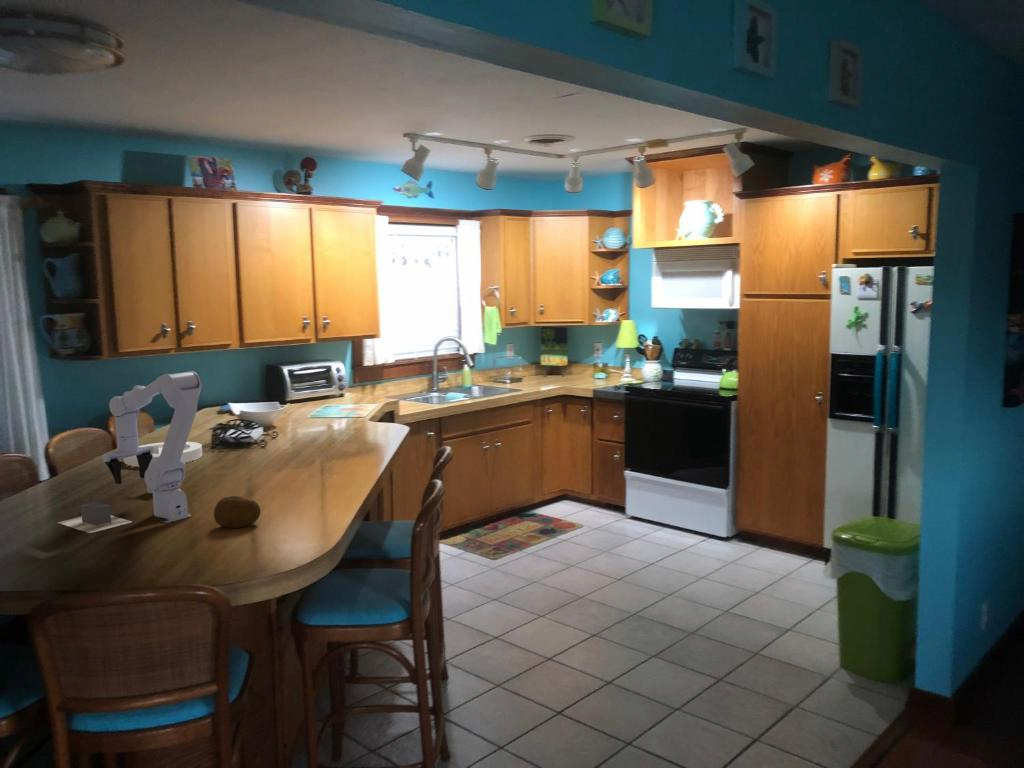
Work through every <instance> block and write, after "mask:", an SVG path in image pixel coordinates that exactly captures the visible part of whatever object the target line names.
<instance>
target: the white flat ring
mask: <svg viewBox="0 0 1024 768" xmlns="http://www.w3.org/2000/svg"><path fill="white" fill-rule="evenodd" d="M164 442H165V441H163V442H156V443H155V442H153V443H148V444H142V445H139V447H146V446H153V449H154V453H150V454H152V455H160V454H161V451H162V448H163V445H164ZM202 455H203V445H202V444H201V443H199V442H195V441H186V444H185V447H184V450H183V453H182V456H181V459H182V460H183V461H184V462H189V461H192V460H196V459H198V458H200V457H201V456H202ZM125 456H126V455H125ZM124 463H125V464H128V465H132V466H139V464H138V460H137V457H136V456H131V457H126V458H123V464H124Z"/></svg>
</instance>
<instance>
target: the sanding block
mask: <svg viewBox="0 0 1024 768" xmlns="http://www.w3.org/2000/svg"><path fill="white" fill-rule="evenodd" d="M80 511H81V513H80V514H81V516H82V523H85V524H88V525H91V526H94V527H96V526H100V525H104V524H108V523H111V516H112V514H111V505H110V504H107V503H104V502H99V501H93V502H89V503H86V504H82V505H80Z"/></svg>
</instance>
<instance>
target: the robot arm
mask: <svg viewBox="0 0 1024 768" xmlns="http://www.w3.org/2000/svg"><path fill="white" fill-rule="evenodd" d="M202 389H203V384H202V381H201V379H200V376H199V374H198V373H196V371H193V370H189V371H185V372H184V371H183V372H178V373H164V374H162V375H159V376H157V378H156V379H155V380H154V381H152V382H150V384H148V385H146V386H145V385H139V384H138V385H134V386H132V389H131V390H129V391H125V392H123V394H122V395H121V396H117V395H116V396H115V395H114V396H113V397H112V398H110V401H109V405H108V406H109V411H110V413H111V414H112V415H113V416H114V422H115V433H116V434H115V435H116V445H117V450H116V451H112V452H109V453H103V454H102V461H103V462H104V463H105V465H106V466H107V468H108V469H109V471H110V472H111V475H112V476H113V479H114V483H115V485H121V484H122V464H123V462H122V461H119V460H120V459H121V460H122V459H124V458H126V457H131V456H136V457H137V460H138V464H139V468H138V471H139V473H138V474H139V478H141V479H144V482H145V485H146V487H147V486H148V487H149V488H150V490H152V491H153V493H152V503H153V512H154V513H153V514H154V517H156V518H162V519H163V518H164V519H163V520H160V521H159V523H165V524H169V523H172V521H173V522H176V521H179V520H183V519H187V518H189V517H191V516H192V515H191V514H189V508H188V497H187V493H185V492H184V491H183V490H181V486H182V482H183V481H184V480H185V478H186V477H185V476H186V466H187V464H186V463H185V462H184V461H183V460H182V459H181V456H182V453H183V450H184V447H185V444H186V442H188V438H189V435H190V432H191V429H192V427H193V423H194V420H195V417H196V416H197V415H196V414H197V412H198V403H199V402H198V401H199V397H200V394H201V391H202ZM159 394H161V395H162V397H163V398H164V400H165V401H166V402H167V404H168V406H169V407H170V408H172V409H174V412H173V415H172V418H171V421H170V424H169V426H168V427H169V428H168V430H167V434H166V436H165V439H164V441H163V442H164V445H163V448H162V451H161V454H160V456H159V457H158V458H156V459H155V460H154V461H153V462H152V463H151V465H150V467H149V468H148V466H149V464H150V461H151V459H152V458H153V455H152V454H150V453H154V449H153V446H146V447H139V446H140V445H139V433H138V419H139V413H140V410H141V408H143V407H145V406H148V405H149V404H150V403H152V401H153V398H154V397H155V396H157V395H159ZM125 455H126V456H125Z"/></svg>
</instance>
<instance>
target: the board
mask: <svg viewBox="0 0 1024 768" xmlns="http://www.w3.org/2000/svg"><path fill="white" fill-rule="evenodd" d="M130 523H133V521H132V520H128V519H125V518H121V517H118V516H115V515H111V523H108V524H104V525H100V526H96V527H94V526H91V525H88V524H85V523H82V515H81V516H77V517H75V518H70V519H65V520H62V521H58V522H57V524H60V525H64V526H65V527H69V528H73V529H75V530H78V531H81V532H84V533H87V534H92V533H96V532H100V531H103V530H107V529H111V528H115V527H118V526H122V525H126V524H127V525H128V524H130Z"/></svg>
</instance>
